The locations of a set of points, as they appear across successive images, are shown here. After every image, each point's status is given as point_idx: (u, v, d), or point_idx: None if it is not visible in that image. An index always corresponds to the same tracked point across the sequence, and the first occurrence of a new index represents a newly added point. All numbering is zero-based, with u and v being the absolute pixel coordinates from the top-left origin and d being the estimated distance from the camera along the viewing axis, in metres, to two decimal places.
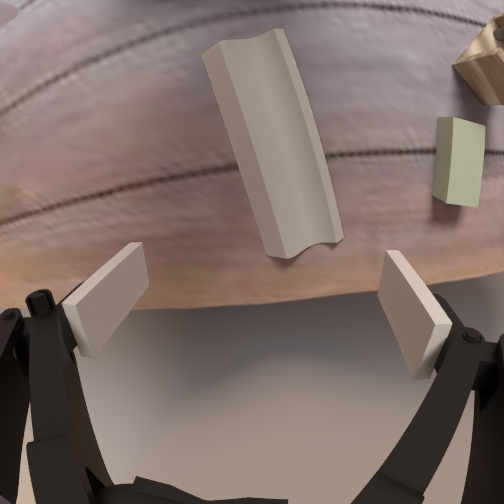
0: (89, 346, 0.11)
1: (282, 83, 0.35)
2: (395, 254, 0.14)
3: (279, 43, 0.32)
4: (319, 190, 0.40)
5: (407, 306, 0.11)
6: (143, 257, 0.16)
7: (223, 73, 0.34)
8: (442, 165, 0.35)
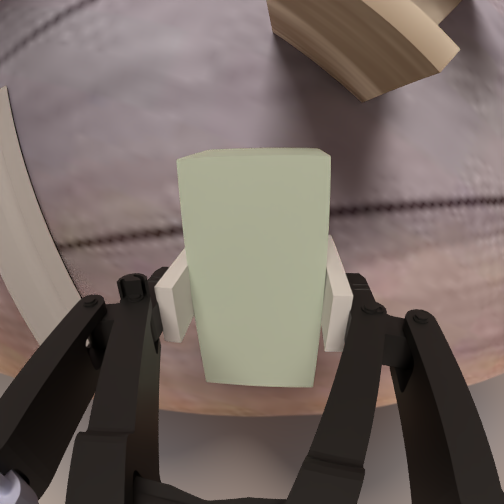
0: (178, 330, 0.12)
1: (5, 162, 0.22)
2: None
3: None
4: None
5: None
6: None
7: None
8: None
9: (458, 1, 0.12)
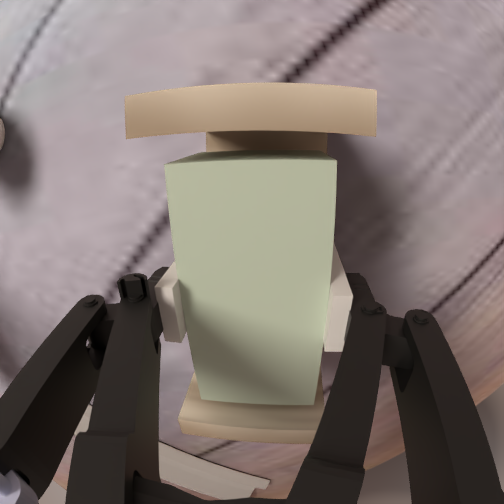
0: (178, 330, 0.12)
1: None
2: None
3: None
4: None
5: None
6: None
7: None
8: None
9: None
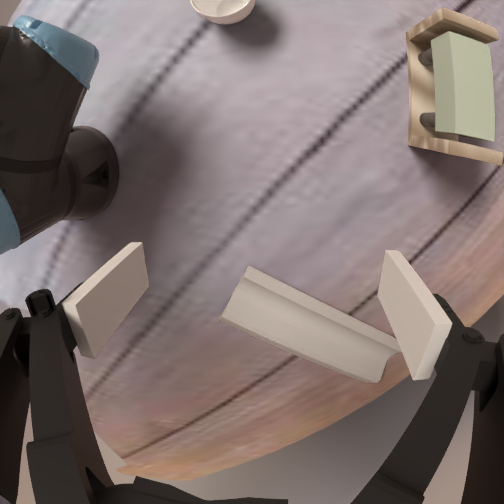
0: (89, 346, 0.11)
1: (287, 303, 0.47)
2: (395, 254, 0.14)
3: (259, 283, 0.45)
4: (367, 338, 0.47)
5: (407, 306, 0.11)
6: (143, 258, 0.16)
7: (246, 329, 0.48)
8: (445, 90, 0.25)
9: None
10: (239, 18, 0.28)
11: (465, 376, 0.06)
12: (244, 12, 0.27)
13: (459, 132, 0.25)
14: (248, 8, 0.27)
